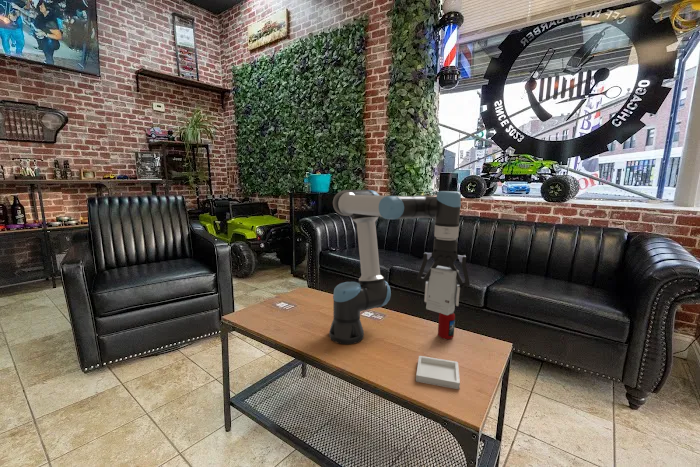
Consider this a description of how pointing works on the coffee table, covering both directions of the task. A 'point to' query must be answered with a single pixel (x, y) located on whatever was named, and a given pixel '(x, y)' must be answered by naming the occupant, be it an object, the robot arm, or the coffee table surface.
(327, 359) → the coffee table surface
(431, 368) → the tray
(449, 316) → the beverage can
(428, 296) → the skincare box
